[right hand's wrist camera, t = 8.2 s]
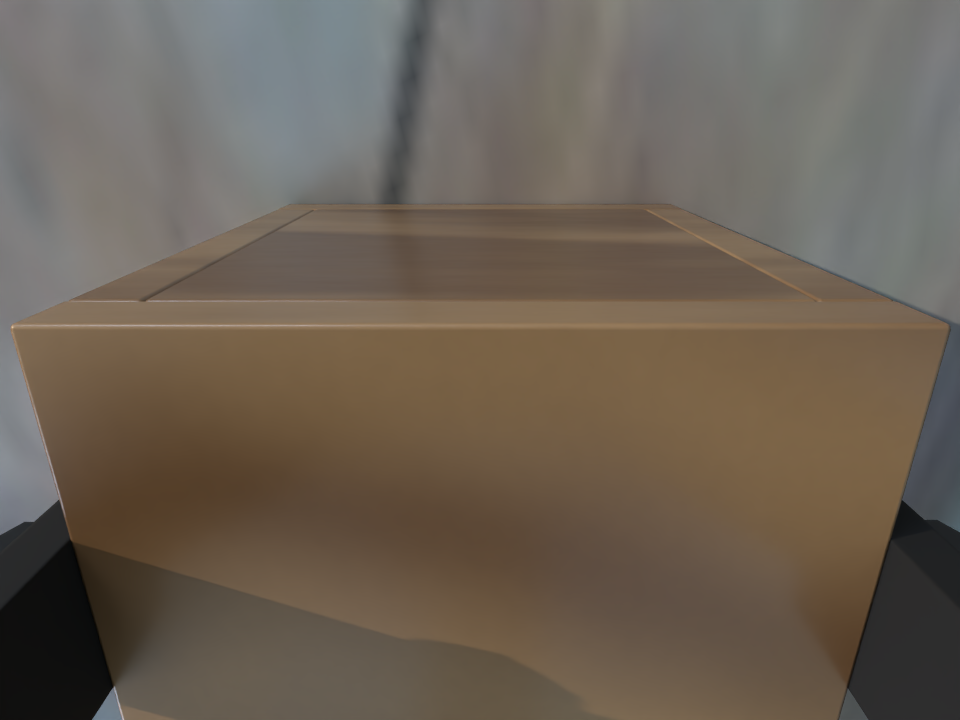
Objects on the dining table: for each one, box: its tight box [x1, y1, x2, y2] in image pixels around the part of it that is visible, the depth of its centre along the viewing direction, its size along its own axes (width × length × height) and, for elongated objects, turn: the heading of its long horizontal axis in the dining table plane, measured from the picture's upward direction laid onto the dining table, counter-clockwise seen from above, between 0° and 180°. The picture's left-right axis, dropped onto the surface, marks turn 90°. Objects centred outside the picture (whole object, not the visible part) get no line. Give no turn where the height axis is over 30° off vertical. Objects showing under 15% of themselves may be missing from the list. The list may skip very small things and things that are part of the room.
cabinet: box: [11, 204, 951, 720], centre depth 16 cm, size 21×11×11 cm, turn 0°
